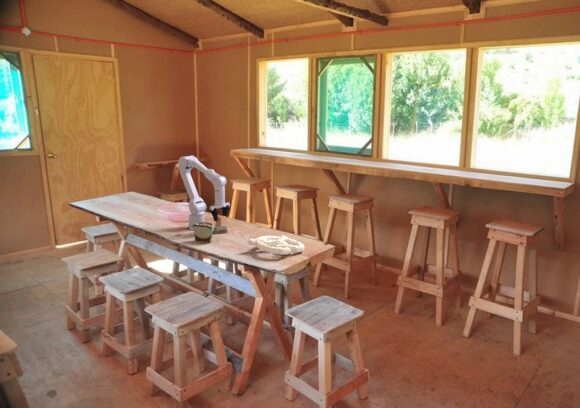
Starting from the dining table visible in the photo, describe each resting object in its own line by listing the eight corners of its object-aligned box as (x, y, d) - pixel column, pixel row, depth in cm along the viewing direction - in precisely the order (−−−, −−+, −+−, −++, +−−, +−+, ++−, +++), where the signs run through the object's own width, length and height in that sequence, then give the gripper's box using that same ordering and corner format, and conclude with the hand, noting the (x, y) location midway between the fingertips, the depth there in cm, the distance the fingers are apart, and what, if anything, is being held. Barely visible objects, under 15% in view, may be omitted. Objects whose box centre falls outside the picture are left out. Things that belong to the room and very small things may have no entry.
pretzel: (281, 242, 248) (282, 231, 247) (311, 254, 232) (313, 242, 231) (241, 246, 228) (243, 234, 227) (272, 260, 212) (273, 247, 211)
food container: (218, 240, 244) (217, 223, 242) (212, 243, 239) (212, 225, 237) (198, 237, 248) (198, 220, 246) (192, 240, 243) (192, 223, 240)
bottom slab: (215, 235, 256) (215, 230, 255) (213, 231, 262) (213, 227, 262) (227, 234, 258) (227, 230, 258) (225, 230, 265) (224, 226, 264)
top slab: (216, 230, 256) (216, 226, 256) (214, 227, 262) (214, 223, 261) (226, 229, 259) (226, 225, 258) (224, 227, 264) (224, 222, 263)
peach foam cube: (221, 226, 257) (220, 217, 255) (215, 224, 259) (215, 216, 258) (226, 224, 260) (226, 216, 259) (220, 223, 263) (220, 215, 261)
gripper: (216, 200, 248) (216, 223, 251) (233, 196, 259) (233, 218, 262) (207, 198, 252) (207, 221, 255) (224, 194, 263) (225, 216, 266)
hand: (220, 219), depth 259 cm, fingers open, 7 cm apart
